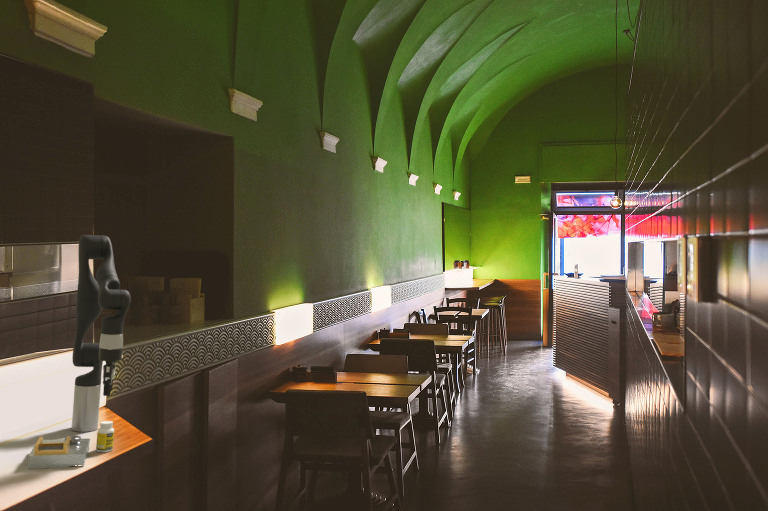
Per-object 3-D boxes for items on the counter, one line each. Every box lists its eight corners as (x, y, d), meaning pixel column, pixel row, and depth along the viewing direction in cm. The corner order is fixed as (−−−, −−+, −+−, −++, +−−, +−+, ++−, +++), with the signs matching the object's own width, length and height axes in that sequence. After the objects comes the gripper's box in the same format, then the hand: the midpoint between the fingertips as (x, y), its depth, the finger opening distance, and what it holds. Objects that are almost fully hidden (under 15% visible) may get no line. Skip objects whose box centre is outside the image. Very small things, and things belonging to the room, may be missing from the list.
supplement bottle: (106, 453, 219) (108, 424, 219) (92, 451, 220) (94, 423, 220) (116, 449, 224) (118, 421, 225) (102, 447, 225) (104, 419, 226)
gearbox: (37, 451, 216) (38, 431, 216) (89, 450, 222) (90, 429, 222) (27, 468, 199) (29, 446, 199) (83, 466, 205) (85, 444, 205)
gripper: (101, 343, 228) (98, 388, 228) (97, 349, 214) (93, 397, 214) (124, 343, 230) (120, 388, 230) (121, 349, 217) (117, 397, 217)
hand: (107, 392), depth 222 cm, fingers open, 8 cm apart
